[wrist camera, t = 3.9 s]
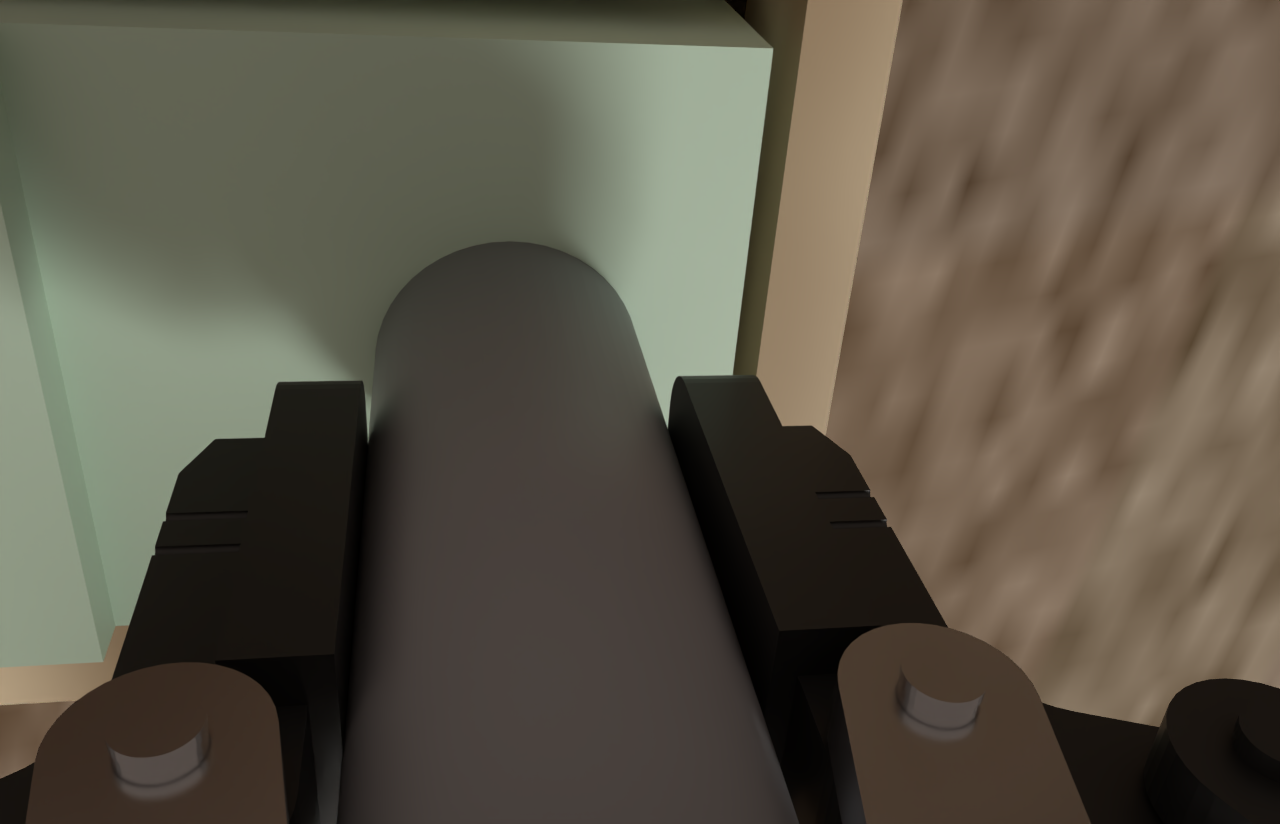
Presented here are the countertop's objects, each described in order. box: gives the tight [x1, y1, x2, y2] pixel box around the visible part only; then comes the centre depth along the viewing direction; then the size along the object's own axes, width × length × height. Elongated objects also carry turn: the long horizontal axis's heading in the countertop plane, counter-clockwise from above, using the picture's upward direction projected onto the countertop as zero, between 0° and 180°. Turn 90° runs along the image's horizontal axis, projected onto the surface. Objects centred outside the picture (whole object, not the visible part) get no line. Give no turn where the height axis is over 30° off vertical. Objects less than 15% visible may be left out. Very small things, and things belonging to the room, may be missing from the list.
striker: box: [0, 0, 799, 824], centre depth 9 cm, size 8×7×13 cm
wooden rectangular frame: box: [0, 0, 903, 705], centre depth 14 cm, size 14×10×2 cm
